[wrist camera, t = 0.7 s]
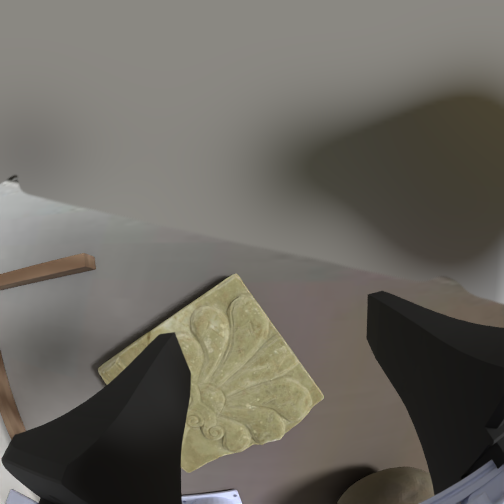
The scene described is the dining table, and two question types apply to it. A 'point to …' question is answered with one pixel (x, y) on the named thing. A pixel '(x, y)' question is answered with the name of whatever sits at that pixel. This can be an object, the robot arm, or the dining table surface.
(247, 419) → the decorative tile
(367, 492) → the cantaloupe
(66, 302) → the dining table surface
